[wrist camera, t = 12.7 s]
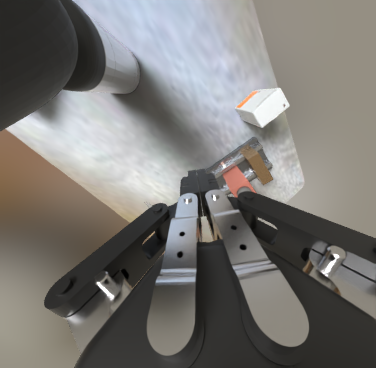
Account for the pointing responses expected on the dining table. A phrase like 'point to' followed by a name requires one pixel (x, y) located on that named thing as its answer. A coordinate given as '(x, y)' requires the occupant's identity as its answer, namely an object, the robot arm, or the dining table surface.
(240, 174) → the pink dome-topped pillar
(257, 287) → the robot arm
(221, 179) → the rail
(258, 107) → the skincare box
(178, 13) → the dining table surface
